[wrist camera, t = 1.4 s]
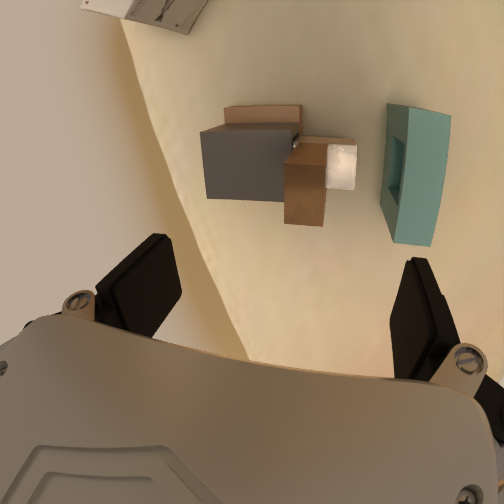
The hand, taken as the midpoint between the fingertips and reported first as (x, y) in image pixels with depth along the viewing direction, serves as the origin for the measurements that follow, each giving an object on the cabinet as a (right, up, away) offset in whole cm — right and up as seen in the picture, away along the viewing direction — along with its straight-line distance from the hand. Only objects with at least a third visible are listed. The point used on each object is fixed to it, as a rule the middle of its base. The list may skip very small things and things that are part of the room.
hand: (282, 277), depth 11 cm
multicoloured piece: (+2, +11, +17) cm, 20 cm away
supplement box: (-10, +31, +13) cm, 35 cm away
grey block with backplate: (+1, +13, +21) cm, 25 cm away
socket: (+16, +12, +17) cm, 26 cm away
